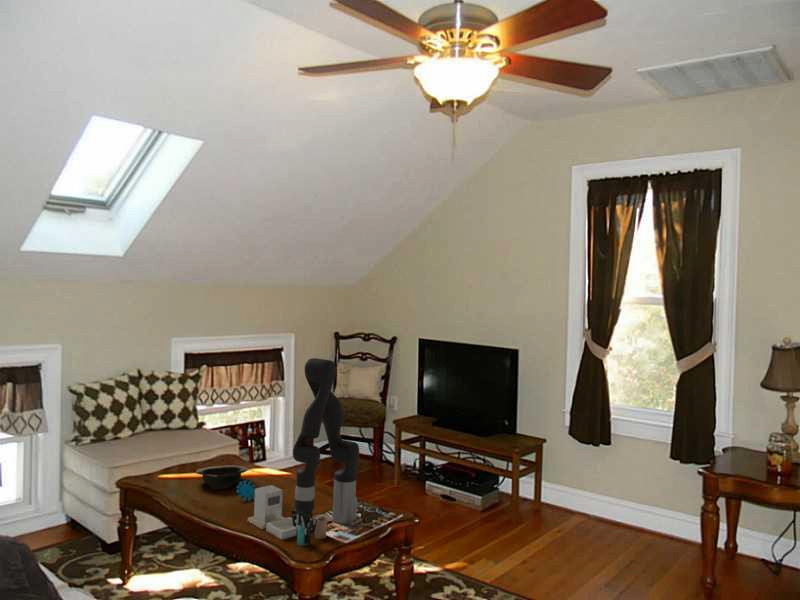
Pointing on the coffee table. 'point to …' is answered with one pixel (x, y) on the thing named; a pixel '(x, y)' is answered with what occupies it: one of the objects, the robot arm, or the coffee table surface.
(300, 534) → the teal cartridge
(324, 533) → the beige cylinder
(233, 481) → the stone bowl
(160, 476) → the coffee table surface
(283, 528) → the tray
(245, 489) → the gear
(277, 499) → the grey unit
